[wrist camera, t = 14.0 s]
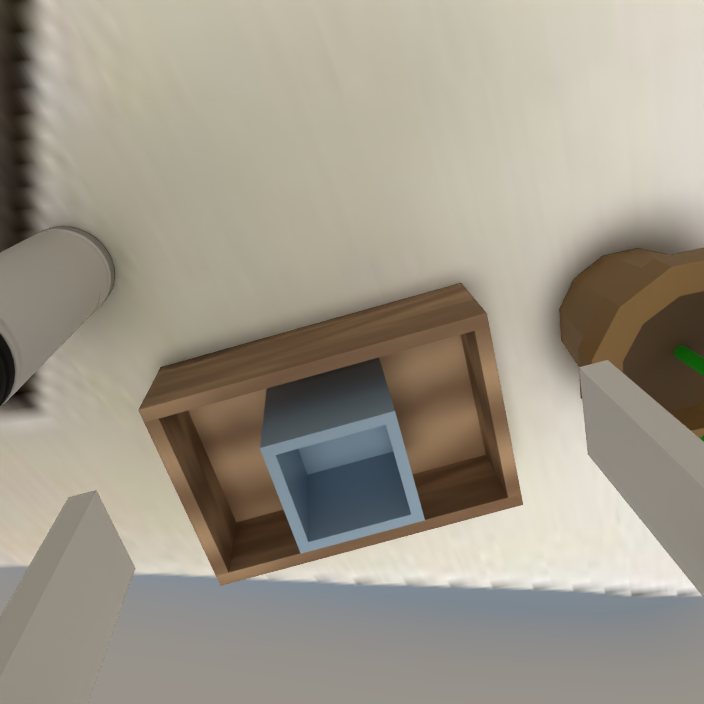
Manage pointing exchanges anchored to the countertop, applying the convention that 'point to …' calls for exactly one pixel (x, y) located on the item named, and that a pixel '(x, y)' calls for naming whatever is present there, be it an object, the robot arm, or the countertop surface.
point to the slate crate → (338, 456)
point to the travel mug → (47, 298)
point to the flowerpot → (644, 325)
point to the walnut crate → (319, 357)
